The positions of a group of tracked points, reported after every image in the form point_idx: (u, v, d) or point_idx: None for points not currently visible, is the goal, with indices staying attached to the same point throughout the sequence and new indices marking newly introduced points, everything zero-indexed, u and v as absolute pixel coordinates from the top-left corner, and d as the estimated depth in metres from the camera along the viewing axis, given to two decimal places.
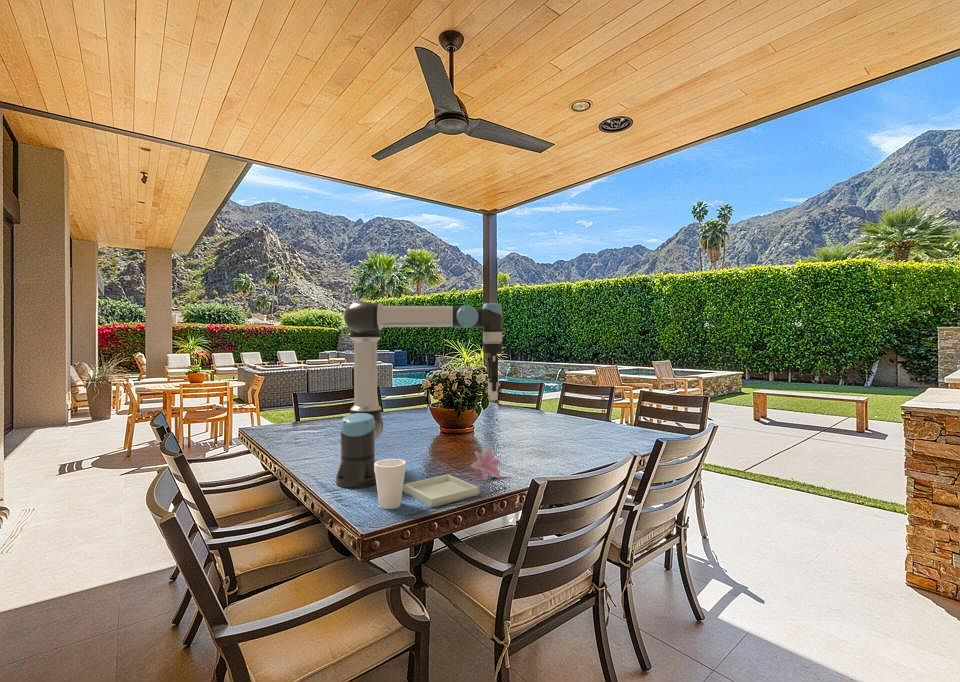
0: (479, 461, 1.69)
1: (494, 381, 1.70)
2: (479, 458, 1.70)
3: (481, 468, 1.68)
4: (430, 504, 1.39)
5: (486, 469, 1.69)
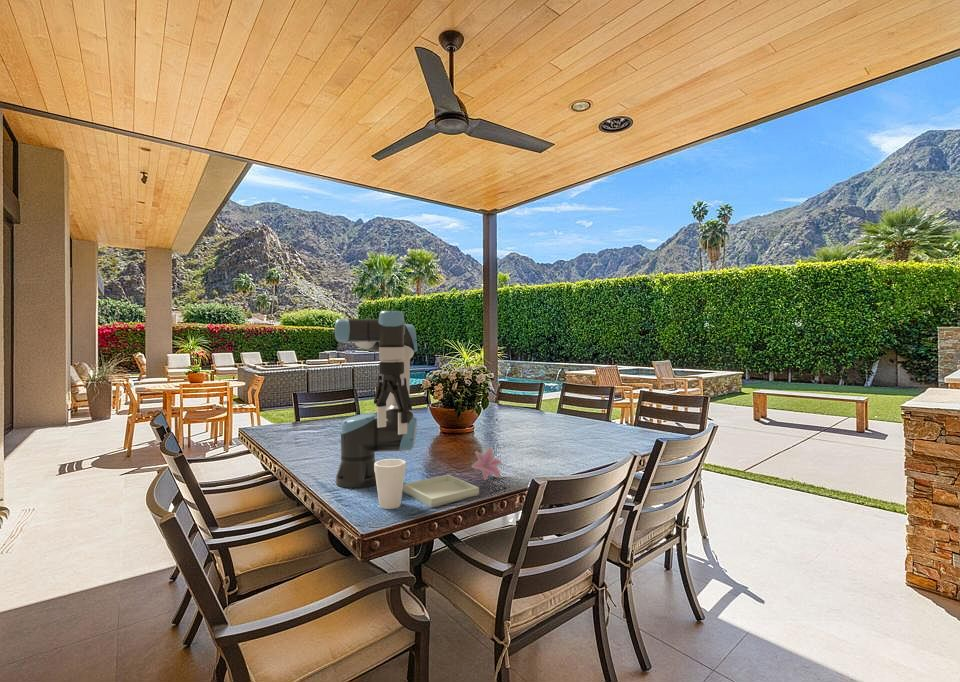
0: (480, 461, 1.69)
1: (406, 410, 1.34)
2: (480, 458, 1.70)
3: (482, 468, 1.68)
4: (430, 504, 1.39)
5: (487, 469, 1.69)
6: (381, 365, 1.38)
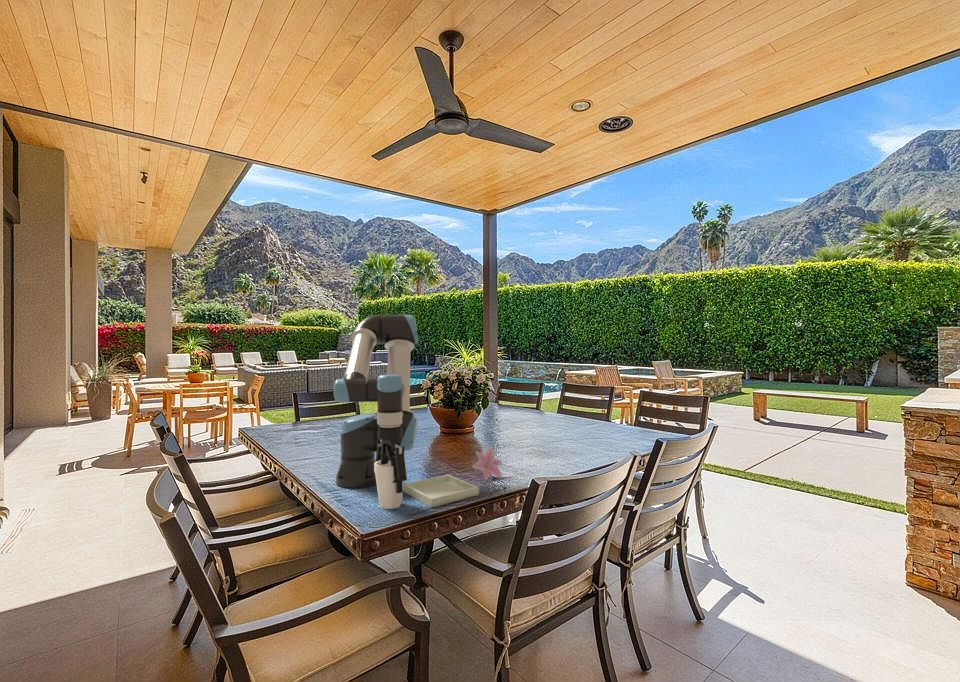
0: (480, 461, 1.69)
1: (401, 481, 1.35)
2: (480, 458, 1.70)
3: (482, 468, 1.67)
4: (430, 504, 1.39)
5: (487, 469, 1.69)
6: (379, 430, 1.38)
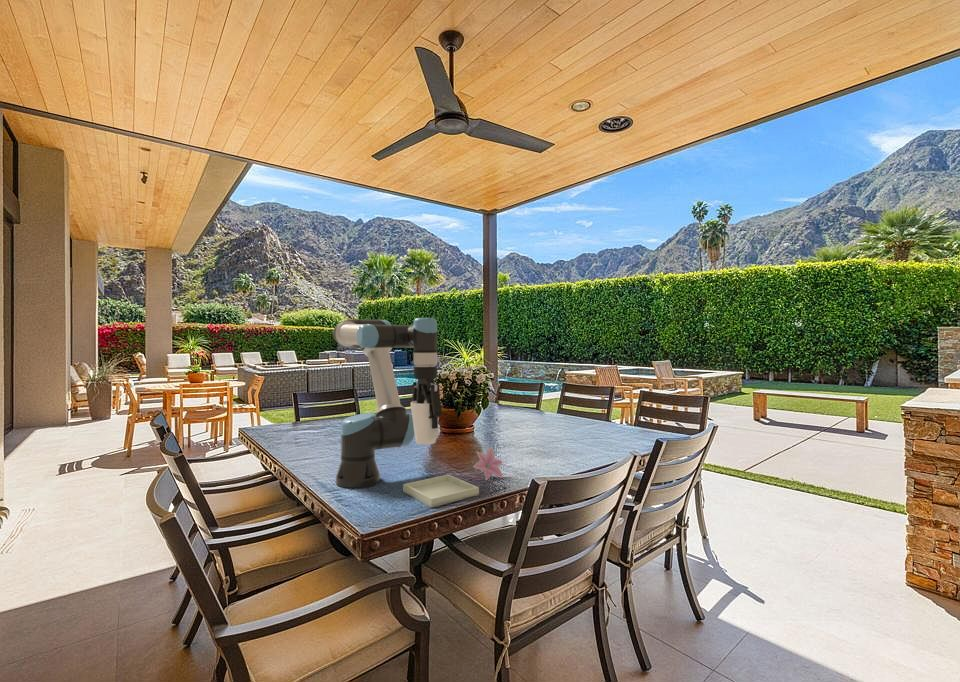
0: (481, 461, 1.69)
1: (437, 416, 1.41)
2: (481, 458, 1.70)
3: (483, 468, 1.67)
4: (430, 504, 1.39)
5: (488, 469, 1.69)
6: (415, 370, 1.45)
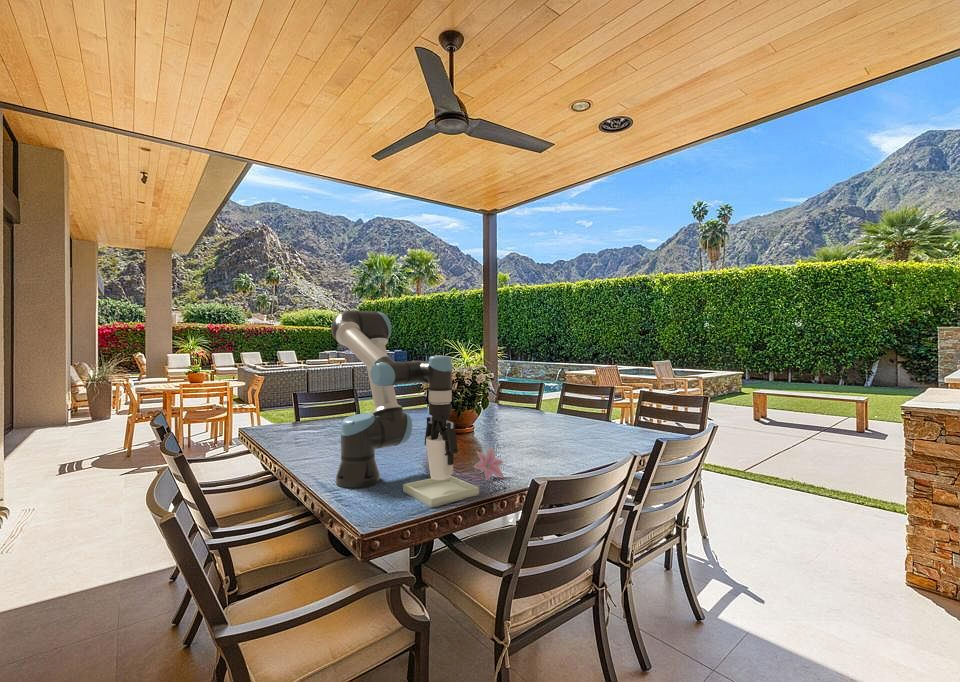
0: (482, 461, 1.69)
1: (453, 453, 1.45)
2: (481, 458, 1.70)
3: (484, 468, 1.67)
4: (430, 504, 1.39)
5: (489, 469, 1.69)
6: (431, 407, 1.49)
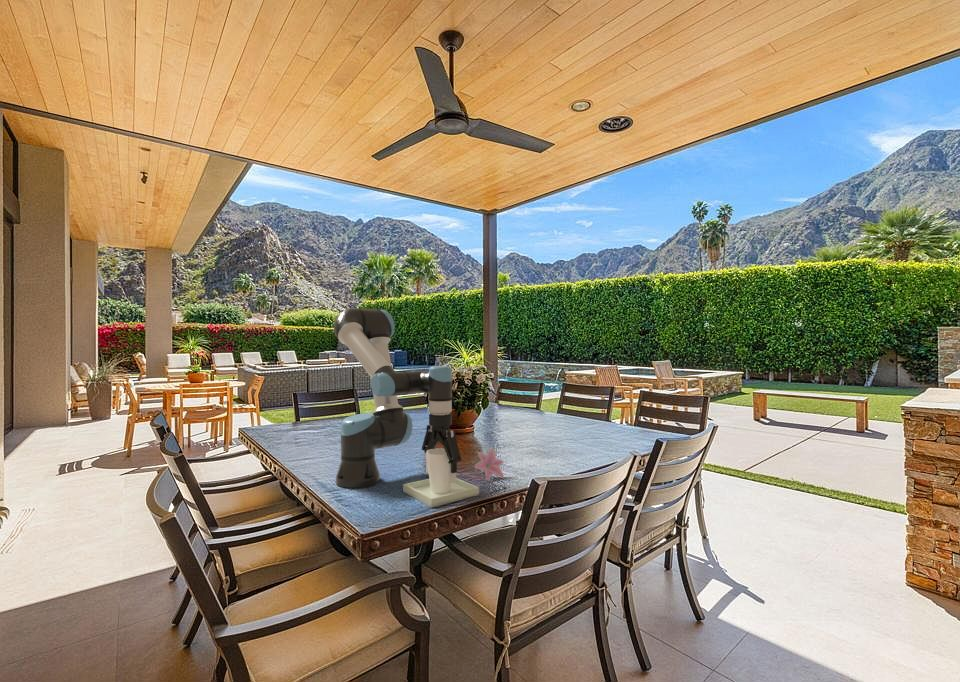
0: (482, 461, 1.68)
1: (456, 461, 1.44)
2: (482, 458, 1.70)
3: (484, 468, 1.67)
4: (430, 504, 1.39)
5: (489, 469, 1.69)
6: (431, 417, 1.49)
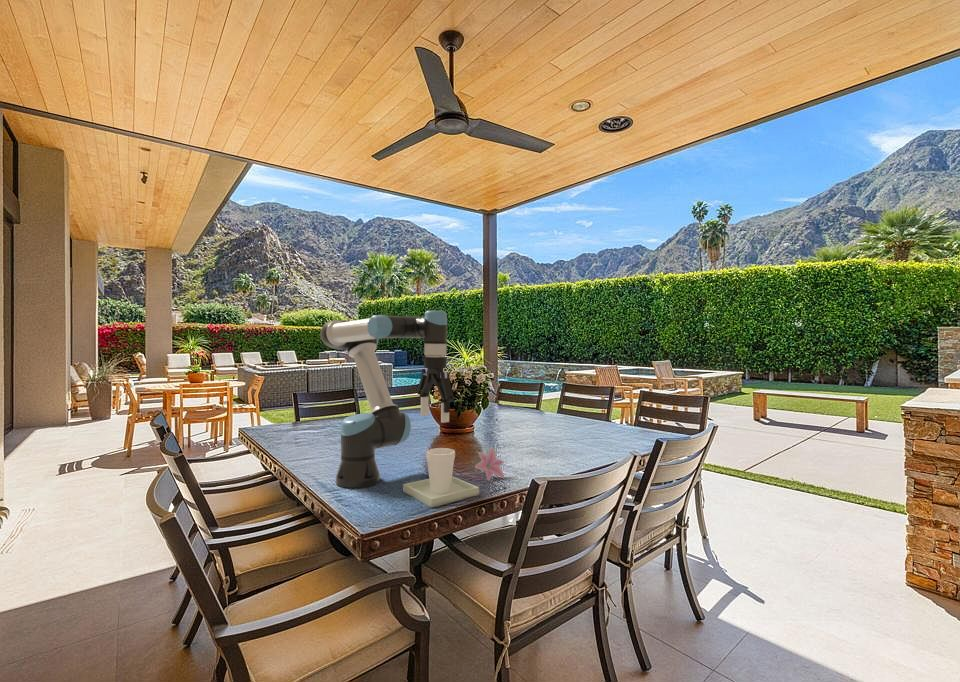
0: (483, 462, 1.68)
1: (449, 401, 1.48)
2: (482, 458, 1.69)
3: (485, 469, 1.67)
4: (430, 504, 1.39)
5: (490, 469, 1.69)
6: (426, 360, 1.53)
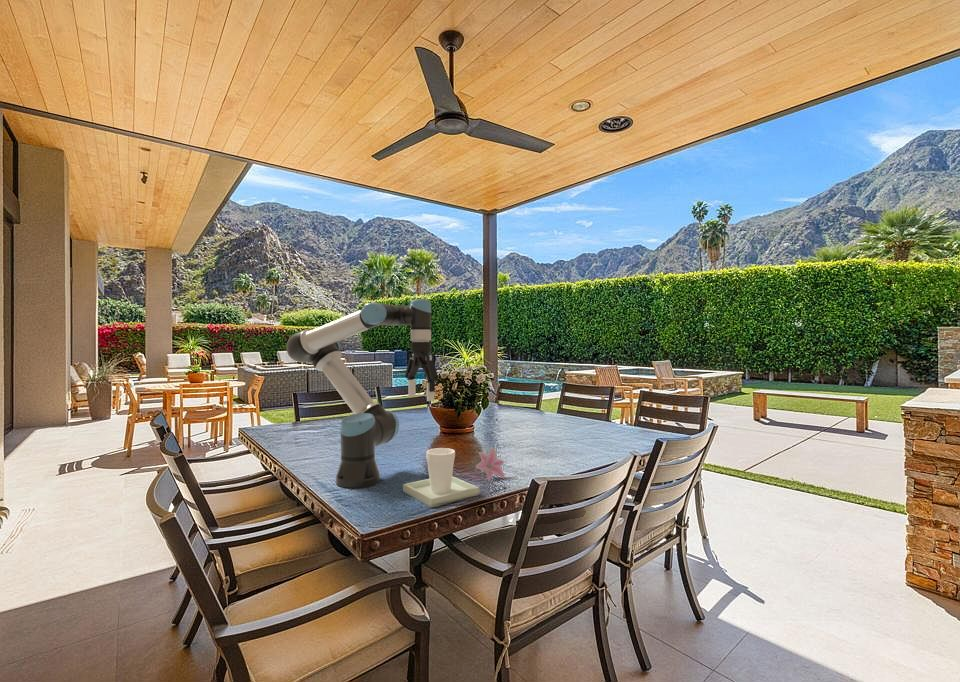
0: (483, 462, 1.68)
1: (434, 381, 1.62)
2: (483, 459, 1.69)
3: (485, 469, 1.67)
4: (430, 504, 1.39)
5: (490, 469, 1.69)
6: (412, 344, 1.67)
